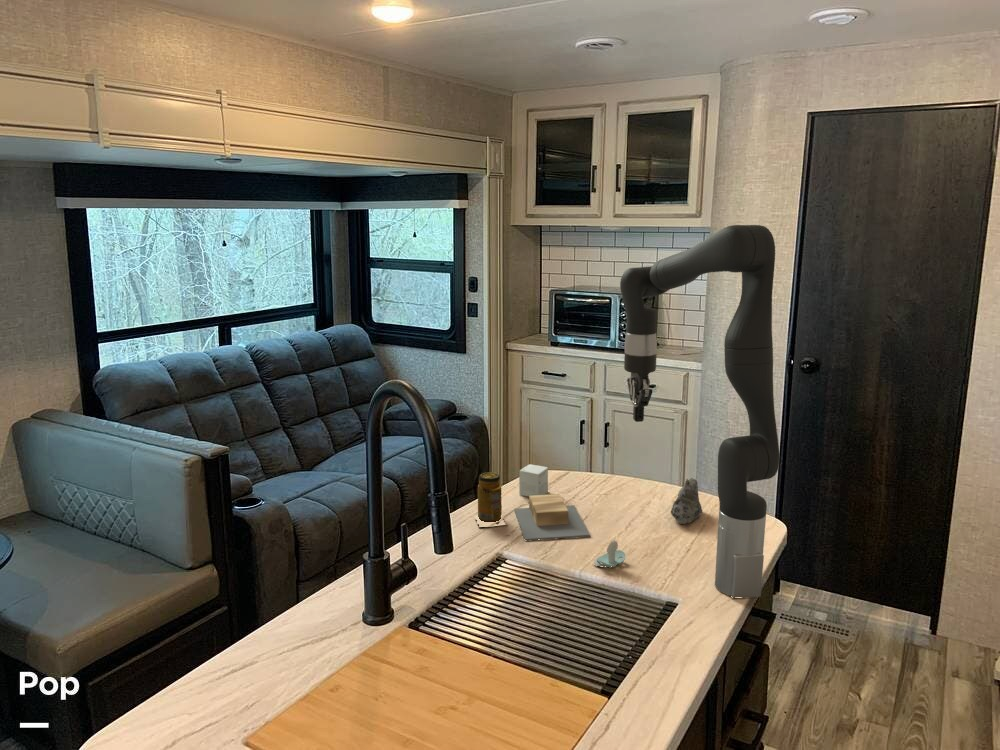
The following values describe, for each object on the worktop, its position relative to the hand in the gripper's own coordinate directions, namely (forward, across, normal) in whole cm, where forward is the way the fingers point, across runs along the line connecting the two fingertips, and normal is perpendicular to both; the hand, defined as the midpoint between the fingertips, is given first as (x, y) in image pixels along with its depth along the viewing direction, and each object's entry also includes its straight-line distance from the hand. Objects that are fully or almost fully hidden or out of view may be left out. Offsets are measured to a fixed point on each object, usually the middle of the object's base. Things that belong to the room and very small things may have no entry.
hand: (638, 420), depth 186 cm
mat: (+27, +3, +21) cm, 34 cm away
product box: (+27, +23, +22) cm, 42 cm away
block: (+25, +1, +21) cm, 32 cm away
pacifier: (+27, -20, +12) cm, 36 cm away
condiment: (+27, +7, +36) cm, 46 cm away
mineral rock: (+27, +2, -13) cm, 30 cm away
